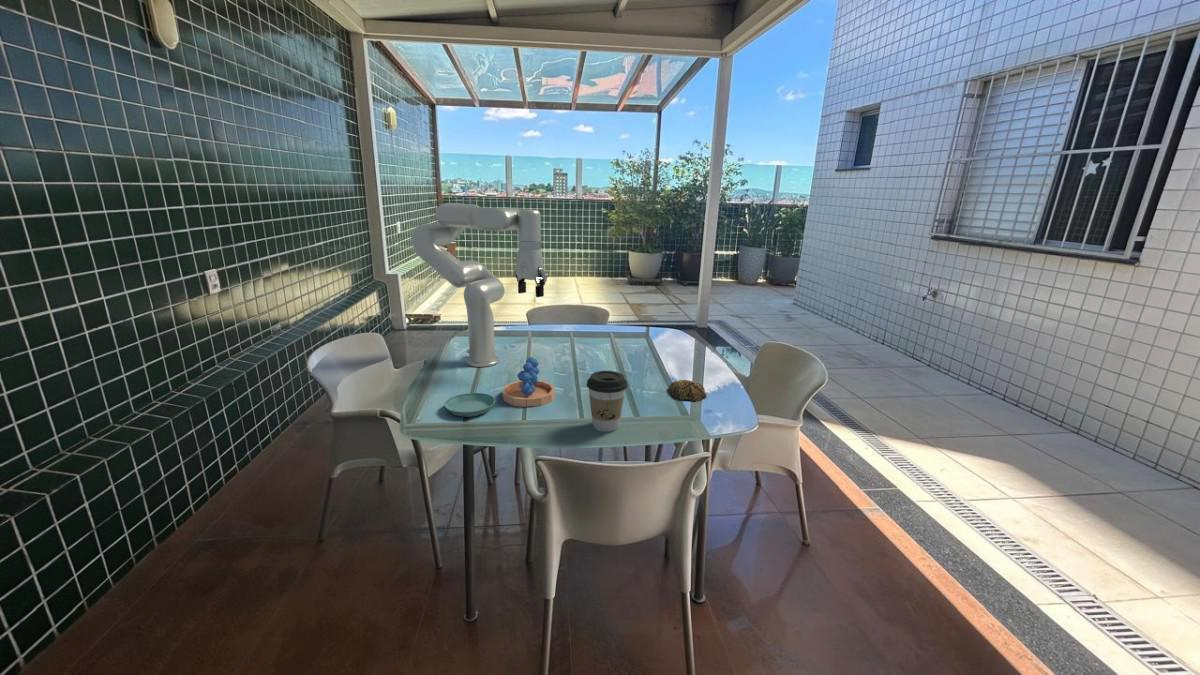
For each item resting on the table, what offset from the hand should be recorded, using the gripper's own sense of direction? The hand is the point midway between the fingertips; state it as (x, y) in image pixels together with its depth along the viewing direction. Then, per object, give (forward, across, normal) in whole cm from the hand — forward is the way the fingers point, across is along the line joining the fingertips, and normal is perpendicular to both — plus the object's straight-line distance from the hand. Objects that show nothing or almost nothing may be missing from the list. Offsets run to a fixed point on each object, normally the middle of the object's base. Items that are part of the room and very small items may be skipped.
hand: (530, 294), depth 173 cm
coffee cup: (+28, +51, -15) cm, 60 cm away
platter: (+28, +19, -17) cm, 38 cm away
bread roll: (+29, +54, +22) cm, 65 cm away
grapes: (+28, +18, -17) cm, 37 cm away
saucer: (+29, +14, -36) cm, 48 cm away
